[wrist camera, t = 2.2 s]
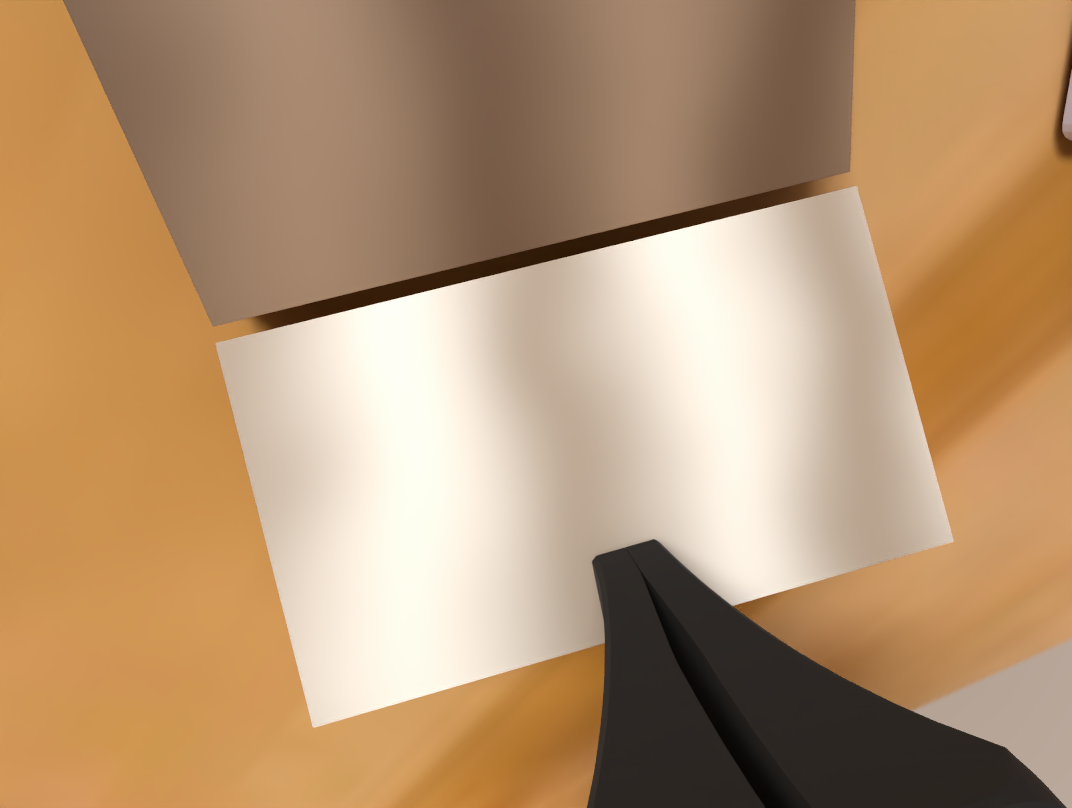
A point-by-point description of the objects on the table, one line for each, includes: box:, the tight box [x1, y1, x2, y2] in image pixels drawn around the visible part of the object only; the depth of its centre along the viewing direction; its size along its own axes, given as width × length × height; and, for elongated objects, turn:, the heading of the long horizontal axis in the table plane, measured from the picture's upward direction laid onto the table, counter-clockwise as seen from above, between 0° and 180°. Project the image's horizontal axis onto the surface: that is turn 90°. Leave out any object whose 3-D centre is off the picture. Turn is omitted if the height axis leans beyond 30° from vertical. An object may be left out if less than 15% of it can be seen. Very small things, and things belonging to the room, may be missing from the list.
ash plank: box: [215, 186, 954, 728], centre depth 15 cm, size 14×8×2 cm, turn 101°
